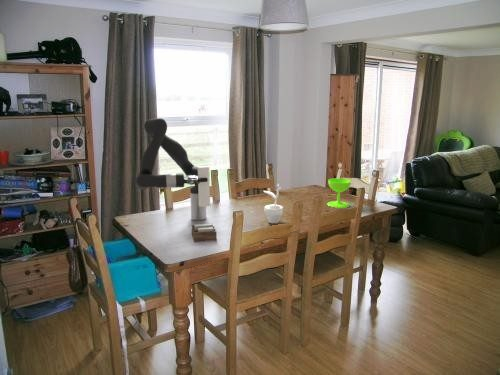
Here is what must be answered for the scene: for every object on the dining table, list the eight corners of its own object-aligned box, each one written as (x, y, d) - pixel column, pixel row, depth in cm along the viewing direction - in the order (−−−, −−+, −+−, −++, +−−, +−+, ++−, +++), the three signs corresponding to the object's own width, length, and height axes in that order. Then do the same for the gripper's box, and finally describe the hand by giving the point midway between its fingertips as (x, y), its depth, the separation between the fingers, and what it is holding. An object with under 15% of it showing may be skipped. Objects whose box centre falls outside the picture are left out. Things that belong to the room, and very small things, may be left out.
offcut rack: (191, 233, 220) (191, 225, 219) (212, 231, 223) (212, 223, 222) (194, 242, 207) (194, 233, 206) (216, 240, 210) (216, 231, 209)
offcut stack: (194, 233, 214) (194, 224, 213) (212, 232, 217) (212, 223, 216) (195, 237, 208) (195, 228, 207) (214, 236, 211) (214, 227, 209)
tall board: (198, 205, 216) (197, 166, 211) (209, 204, 217) (208, 166, 212) (199, 206, 213) (198, 167, 208) (210, 205, 215) (209, 166, 210)
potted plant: (285, 220, 243) (286, 181, 238) (279, 226, 233) (280, 185, 227) (266, 218, 248) (266, 179, 242) (259, 223, 238) (260, 183, 232)
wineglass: (322, 203, 281) (323, 179, 277) (340, 201, 288) (341, 177, 284) (335, 209, 267) (337, 184, 263) (354, 206, 274) (356, 182, 270)
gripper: (175, 176, 201) (208, 174, 205) (174, 171, 214) (205, 170, 218) (175, 190, 203) (208, 188, 206) (174, 184, 216) (205, 183, 220)
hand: (206, 179), depth 212 cm, fingers closed on tall board, 2 cm apart
